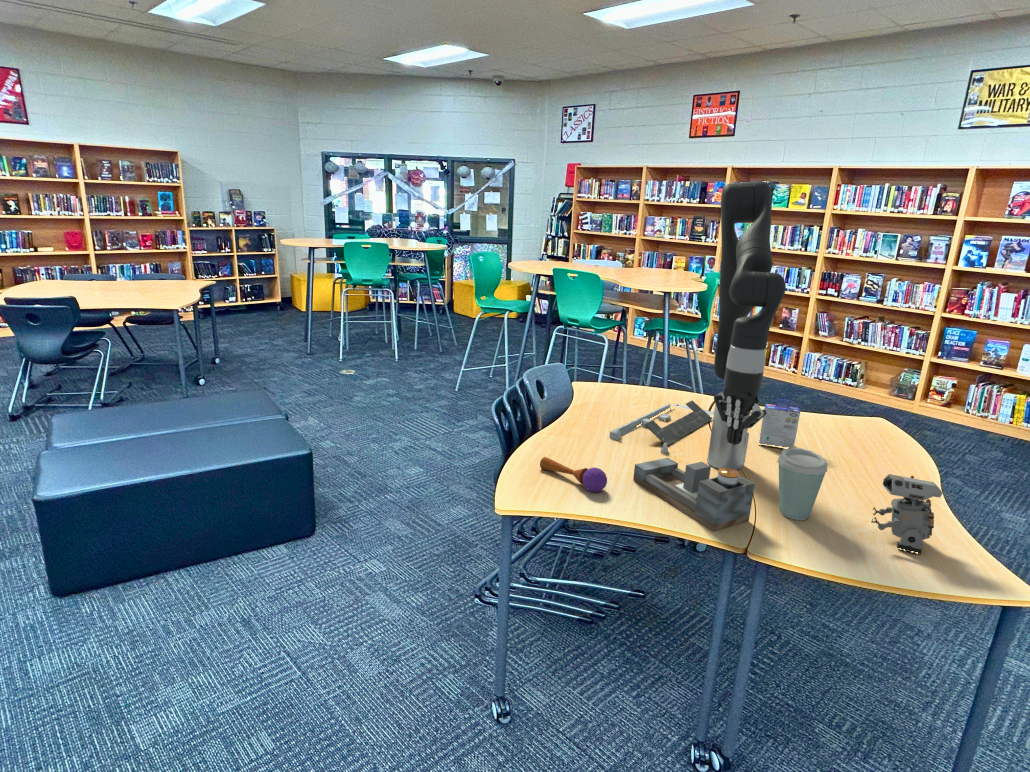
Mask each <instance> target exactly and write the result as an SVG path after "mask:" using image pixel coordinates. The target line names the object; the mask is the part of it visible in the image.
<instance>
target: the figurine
mask: <svg viewBox="0 0 1030 772" xmlns="http://www.w3.org/2000/svg"><path fill="white" fill-rule="evenodd" d="M882 481H883V482H882V486H883V488H884V489H885V490H886V491H887V493H889V494H890V495H891V496H897V497H899V498H894V499H892V500H891V502H890V503H891V504H890V505H891V506H886V508H884V509H883V508H880V509H879V510H877V509H876V507H873V508H872V510H874V513H872V515H873V516H875V515H877V514H879V515H881V516H885V514H891V520H888V521H886V522H884V523H883V522H882V523H880V522H879V521H878V519H877V517H876V516H875V517H874V518H872V520H871V523H872V524H873V523H874V524H875V523H876V524H877V528H878V529H879V530H880V531H884V530H885V529H889V528H891V533H892V535H893V536H896V537H898V538H900V540H899V541H898V542H897V545H896V548H901V549H905V550H909V551H914V552H918V553H921V554H922V543H923V542H922V541H924V540H927V539H930V538H931V537H932V535H933V529H934V527H935V520H934V519H935V513H934V512H933V511H932V500H931V499H930V498H933V497H935V498H941V497H942V495H943V491H942V489H940V487H939V486H938V485H937V483H935V482H934V481H929V480H925V479H920V478H915V476H914V475H911V476H910V477H909V476H908V477H907V476H906V477H905V476H903V475H897V474H891V473H888V474H887V475H886V476H885V477H884V478H883V480H882ZM901 497H902V498H901ZM873 520H875V521H873ZM909 551H908V552H909Z"/></svg>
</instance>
